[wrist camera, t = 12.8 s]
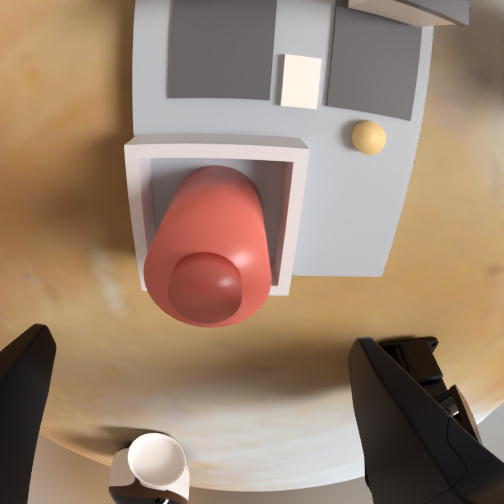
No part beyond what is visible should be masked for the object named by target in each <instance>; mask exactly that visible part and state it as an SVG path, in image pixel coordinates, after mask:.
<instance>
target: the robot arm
mask: <svg viewBox="0 0 504 504" xmlns="http://www.w3.org/2000/svg"><path fill="white" fill-rule="evenodd" d="M438 343H439V342H438V340H437V338H426V339H416V340H406V341H396V342H384V343H379V344H377V343H376V342H375V341H374V340H373V339H372V338H370V337H361V338H357V339H356V340H355V342H354V344H353V347H352V349H351V351H350V354H349V357H348V367H349V374H350V382H351V391H352V399H353V407H354V412H355V417H356V421H357V426H358V430H359V434H360V439H361V443H362V448H363V453H364V462H365V481H366V484H367V486H368V487H369V489H370V491H371V493H372V498H373V503H374V504H504V463H503V462H502V461H501V460H500V459H498V458H497V457H496V456H495V455H493V454H492V453H491V452H490V451H489V450H487V449H486V448H485V447H484V446H483V445H482V442H481V438H480V435H479V432H478V428H477V425H476V422H475V419H474V417H473V414H472V412H471V410H470V408H469V406H468V404H467V402H466V400H465V398H464V396H463V395H462V393H461V392H460V391H459V389H458V388H457V386H456V385H453V386H452V387H450V389H449V390H447V388H446V386H445V383H444V381H443V379H442V377H443V374H442V372H441V370H440V368H439V366H438V364H437V362H436V360H435V358H434V356H433V354H432V353H433V351H434V350H435V348H436V346H437V345H438ZM55 354H56V343H55V341H54V339H53V337H52V335H51V332H50V330H49V328H48V327H47V326H46V325H43V324H34V325H32V326H31V327H30V328H29V329H27V330H26V331H25V332H24V333H22V334H21V335H20V336H19V337H17V338H16V339H15V340H14V341H12V342H11V343H10V344H9V345H8V346H6V347H5V348H4V349H3V350H2V351H0V504H27V502H28V493H29V485H30V479H31V472H32V466H33V459H34V454H35V449H36V444H37V439H38V434H39V430H40V425H41V421H42V417H43V412H44V408H45V404H46V400H47V396H48V392H49V387H50V381H51V375H52V370H53V364H54V359H55ZM457 411H459V413H458V414H456V415H453V413H455V412H457Z"/></svg>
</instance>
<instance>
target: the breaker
mask: <svg viewBox="0 0 504 504" xmlns="http://www.w3.org/2000/svg"><path fill="white" fill-rule="evenodd" d="M469 5H470V0H349V3H348V8H351V9H356V10H360V11H364V12H368V13H372V14H376V15H380V16H383V17H387V18H390V19H393V20H397V21H400V22H403V23H406V24H409V25H412V26H415V27H425V26H438V25H459V26H469Z"/></svg>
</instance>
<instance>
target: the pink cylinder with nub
mask: <svg viewBox="0 0 504 504" xmlns="http://www.w3.org/2000/svg"><path fill="white" fill-rule="evenodd" d="M143 275H144V282H145V286H146V288H147V291H148V293H149V295H150V296H151V298H152V299H153V301H154V302H155V303H156V304H157V305H158V306H159V307H160V308H161V309H162V310H163V311H164V312H165V313H167V314H168V315H170V316H171V317H173V318H175V319H177V320H179V321H181V322H184V323H187V324H190V325H194V326H199V327H224V326H229V325H232V324H236V323H238V322H241V321H243V320H245V319H247V318H248V317H250V316H251V315H253V314H254V313H255V312H256V311H257V310H258V309H259V308H260V307H261V306H262V305H263V303H264V302H265V300H266V299H267V297H268V294H269V292H270V288H271V278H272V277H271V269H270V262H269V254H268V247H267V240H266V232H265V225H264V218H263V211H262V204H261V198H260V194H259V192H258V189H257V188H256V186H255V184H254V183H253V182H252V181H251V179H250V178H248V177H247V176H246V175H245V174H243V173H242V172H240V171H238V170H236V169H234V168H231V167H227V166H221V165H211V166H206V167H202V168H199V169H197V170H195V171H193V172H192V173H190V174H189V175H188V176H186V177H185V178H184V179H183V181H182V182H181V183H180V185H179V186H178V188H177V190H176V192H175V194H174V196H173V199H172V201H171V203H170V205H169V207H168V209H167V211H166V214H165V216H164V218H163V220H162V222H161V224H160V227H159V229H158V231H157V233H156V236H155V238H154V240H153V242H152V245H151V247H150V249H149V252H148V254H147V256H146V259H145V263H144V269H143Z"/></svg>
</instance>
